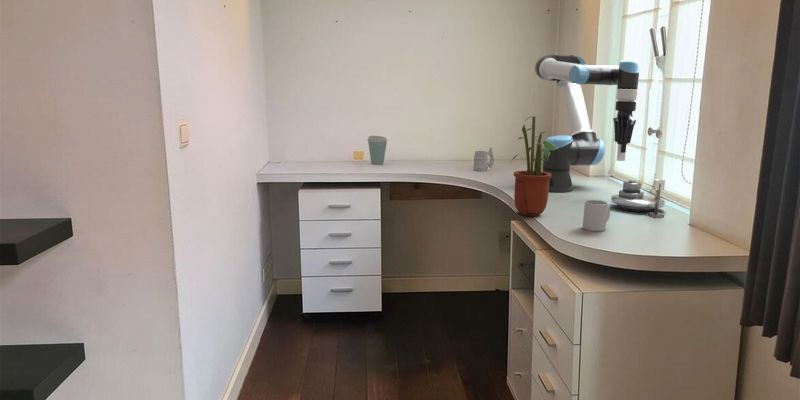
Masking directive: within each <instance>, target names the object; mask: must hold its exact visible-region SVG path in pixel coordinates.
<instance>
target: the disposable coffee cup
mask: <svg viewBox="0 0 800 400" xmlns="http://www.w3.org/2000/svg"><path fill="white" fill-rule="evenodd" d="M366 140H367V143H368V150H369V157H370V163H371V165H374V166H381V165H384V163H385V157H386V151H387V150H386V149H387V142H388V139H387V138H386V137H385V136H381V135H370V136H368V138H367V139H366Z"/></svg>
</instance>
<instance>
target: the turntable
mask: <svg viewBox="0 0 800 400" xmlns="http://www.w3.org/2000/svg"><path fill="white" fill-rule="evenodd" d="M654 191H655V193H654V196H650V195H644V196H643V198H642V199H630V198H623V197H620V196H619V194H614V195H611V197H610V201H611V203H613V204H616V205H619V206H622V205H623V206H628V207H636V208H652V209H655V202H656V193H657V190H654ZM661 196H662V190H660V198H659V207H658V209H659V208H663V207H665V202H666V201H665V199H663V198H661Z"/></svg>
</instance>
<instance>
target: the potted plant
mask: <svg viewBox="0 0 800 400" xmlns="http://www.w3.org/2000/svg"><path fill="white" fill-rule="evenodd" d="M530 118H532V121H531V123H532V124H531V127H530V128H526V126H525V124H523V126H522V128H521V132H522V134H523V137H522V136H521V137H518V139H517V140H520V139H521V140H522V139H524V144H525V152H523V154H524V153H525V155H526V165H527V166H526V169H527V170H516V171H513V177H514V179H515V180H514V193H513V194H514V196H513V197H514V206H515V208H516V210H517V212H518V213H519V214H521V215H522V216H525V217H537V216H540V215H541V214H542V213H543V212H544V211H545V210H546V208H547V204H548V200H549V199H548V198H549V192H550V191H549V179H551V176H552V174H550V173H547V172H542V169H543V160H545V159H543V157H542V155H543V154H542V153H544V154H545V155H546V157H547V160H548V157H549V154H550V152H549V151H548V150H555V149H557V148H556V147H555V146H554V145H553V144H552V143H551V142H547V141H545V140H542V138H543V134H544V133H546V131H540V133H539V132H538V133H539V136H538V139H537V143H536V150H535V141H536V139H535V138H536V136H535V135H536V116H535V115H533V116H532V115H531V116H529V117H527V118H526V119H525V121H527V120H528V119H530ZM530 130H531V142H530V143H531V146H530V147H529V145H530V144H529V139H528V133H527V132H528V131H530ZM542 146H543V147H542ZM544 146H545V147H546V148H544ZM520 154H522V153H519V154H516V155H515V156H514V157H513V158H512V159H511V161H510V163H509V164H511V163H512V161H513V160H514V159H515V158H516V157H517V156H519V155H520Z"/></svg>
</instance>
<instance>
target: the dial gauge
mask: <svg viewBox="0 0 800 400" xmlns="http://www.w3.org/2000/svg"><path fill="white" fill-rule="evenodd" d="M665 183H666V180H665V179H658V178H657V179H653V182H652V185H651V187H652V190H653V191H655V190H657V193H656V202H655V208H654V212H653V211H650V212H647V216H649V217H651V218H655V219H656V218H665V214H664V213H661V212H659V208H658V207H659V198H660V199H661V196H660V190H661V191H665Z"/></svg>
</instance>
